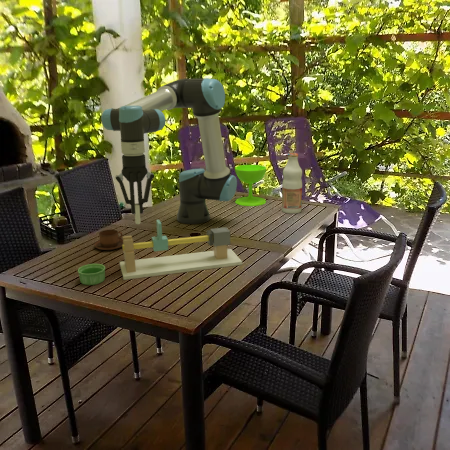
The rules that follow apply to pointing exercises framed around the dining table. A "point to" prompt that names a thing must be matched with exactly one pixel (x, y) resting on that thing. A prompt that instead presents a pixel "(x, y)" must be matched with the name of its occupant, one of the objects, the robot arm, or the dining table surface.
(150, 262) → the cord rig
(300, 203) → the fruit juice
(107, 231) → the cup and saucer
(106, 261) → the dining table surface
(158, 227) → the sleeve
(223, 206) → the dining table surface
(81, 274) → the ramekin
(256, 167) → the wineglass
